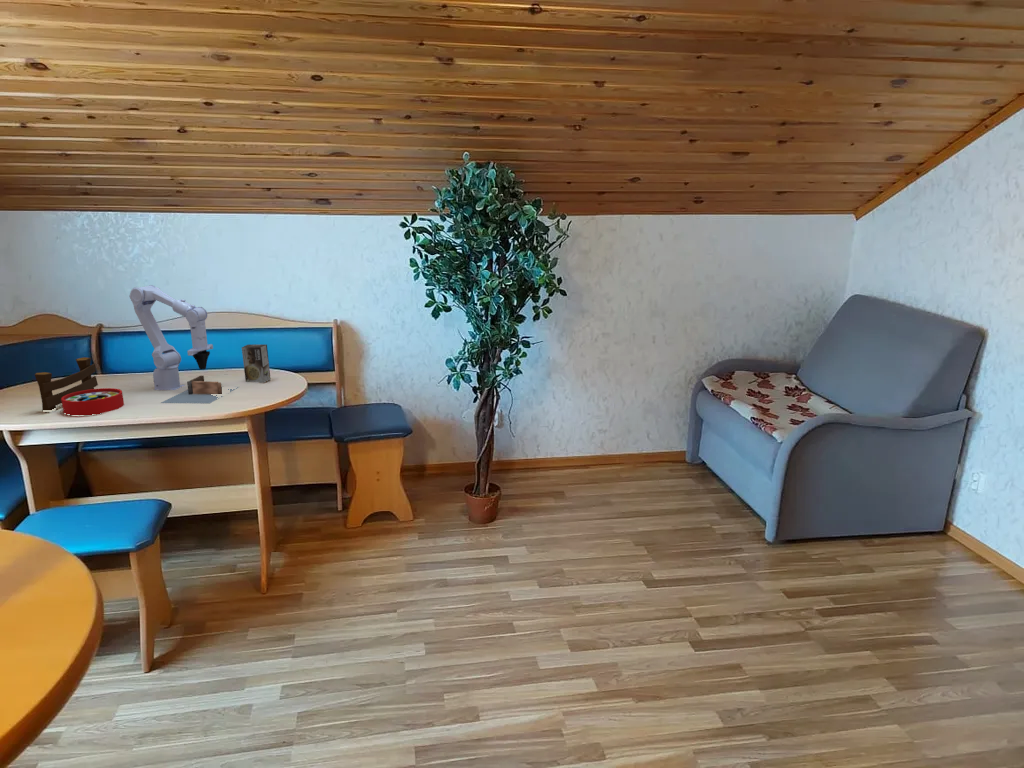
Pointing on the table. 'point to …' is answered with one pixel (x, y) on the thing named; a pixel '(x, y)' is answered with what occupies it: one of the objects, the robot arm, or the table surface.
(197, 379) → the dark brown wooden bar
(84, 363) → the decorative fence
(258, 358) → the coffee box
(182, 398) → the board
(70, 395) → the toy clock
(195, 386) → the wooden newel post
